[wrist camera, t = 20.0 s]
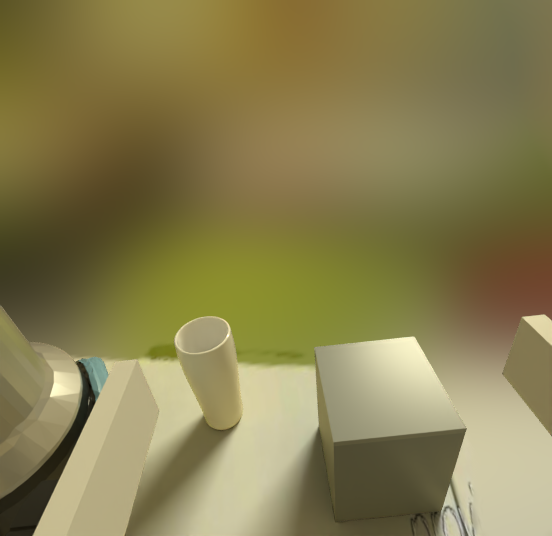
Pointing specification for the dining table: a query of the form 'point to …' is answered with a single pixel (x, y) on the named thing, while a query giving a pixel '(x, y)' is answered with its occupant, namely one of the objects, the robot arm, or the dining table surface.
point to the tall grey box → (385, 429)
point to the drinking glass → (211, 369)
